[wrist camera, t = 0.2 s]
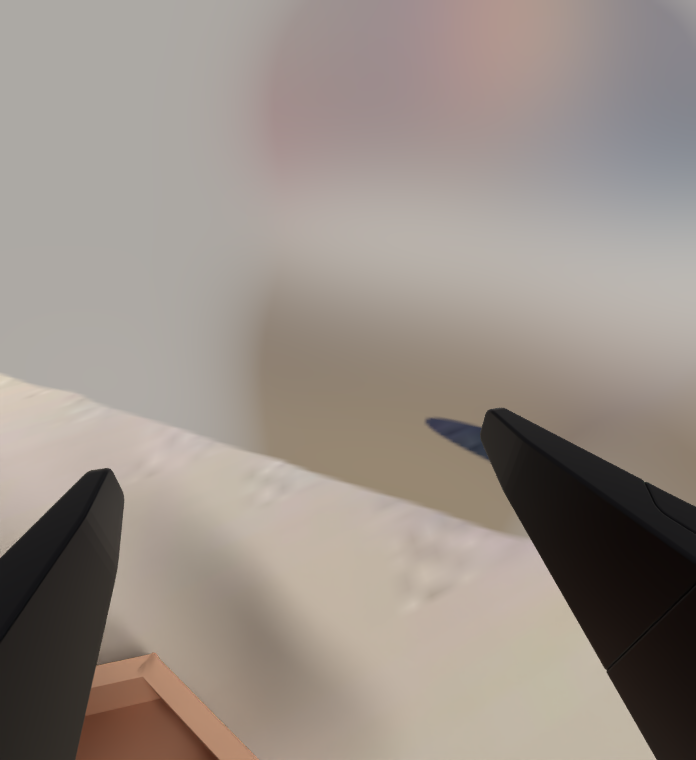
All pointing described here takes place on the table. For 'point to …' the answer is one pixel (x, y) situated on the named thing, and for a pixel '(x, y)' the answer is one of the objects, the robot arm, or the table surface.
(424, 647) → the table surface
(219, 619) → the table surface
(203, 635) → the table surface
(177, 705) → the terracotta bowl
